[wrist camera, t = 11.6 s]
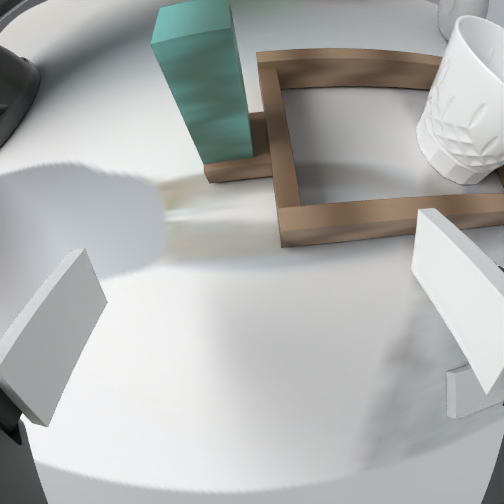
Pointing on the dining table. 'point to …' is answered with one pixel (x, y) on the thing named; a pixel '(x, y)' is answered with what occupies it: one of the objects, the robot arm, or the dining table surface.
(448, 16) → the donut
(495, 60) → the white cup
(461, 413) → the broken strip
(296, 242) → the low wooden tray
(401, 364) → the dining table surface
